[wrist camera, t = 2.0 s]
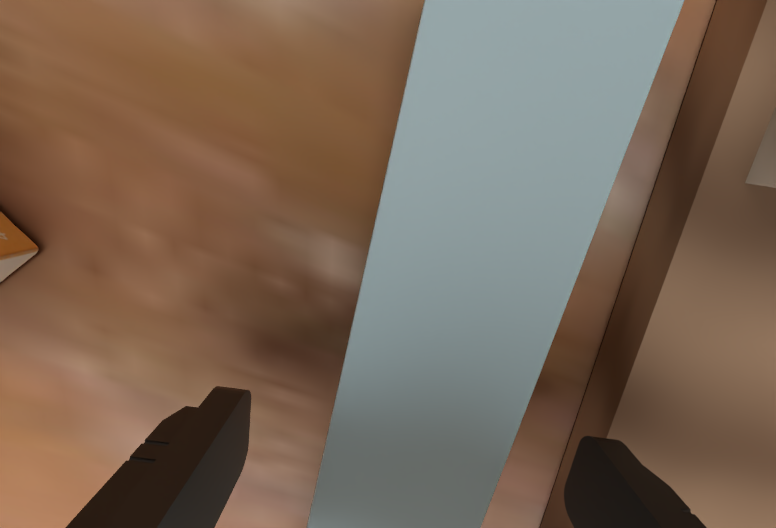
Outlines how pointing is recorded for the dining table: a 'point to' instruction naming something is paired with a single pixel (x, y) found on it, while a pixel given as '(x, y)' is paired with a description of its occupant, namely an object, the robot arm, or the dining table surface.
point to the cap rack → (702, 295)
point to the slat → (479, 246)
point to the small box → (13, 247)
